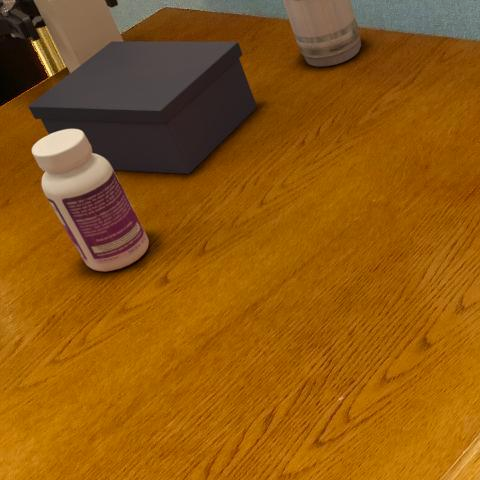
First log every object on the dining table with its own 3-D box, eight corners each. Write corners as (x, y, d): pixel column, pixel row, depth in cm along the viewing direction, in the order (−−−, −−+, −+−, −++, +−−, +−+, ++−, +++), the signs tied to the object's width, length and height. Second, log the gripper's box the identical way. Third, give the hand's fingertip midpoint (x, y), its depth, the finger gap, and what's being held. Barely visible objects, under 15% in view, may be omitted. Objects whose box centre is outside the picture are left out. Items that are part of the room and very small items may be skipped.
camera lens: (366, 35, 102) (343, -48, 96) (360, 62, 98) (336, -23, 92) (307, 45, 103) (280, -37, 97) (298, 72, 99) (270, -12, 93)
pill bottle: (163, 236, 82) (107, 122, 74) (130, 274, 78) (68, 160, 71) (108, 234, 83) (48, 123, 76) (73, 272, 80) (7, 160, 73)
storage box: (61, 169, 93) (27, 106, 88) (139, 102, 100) (111, 41, 95) (190, 176, 88) (160, 110, 83) (261, 105, 95) (238, 41, 90)
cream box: (79, 92, 104) (28, -10, 96) (122, 72, 106) (75, -30, 98) (99, 104, 101) (48, 0, 94) (142, 83, 103) (96, -21, 95)
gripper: (-72, -31, 102) (-17, 0, 93) (55, -81, 107) (119, -57, 98) (-30, 44, 107) (26, 80, 98) (89, -7, 112) (153, 23, 103)
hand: (72, 12), depth 98 cm, fingers open, 8 cm apart
